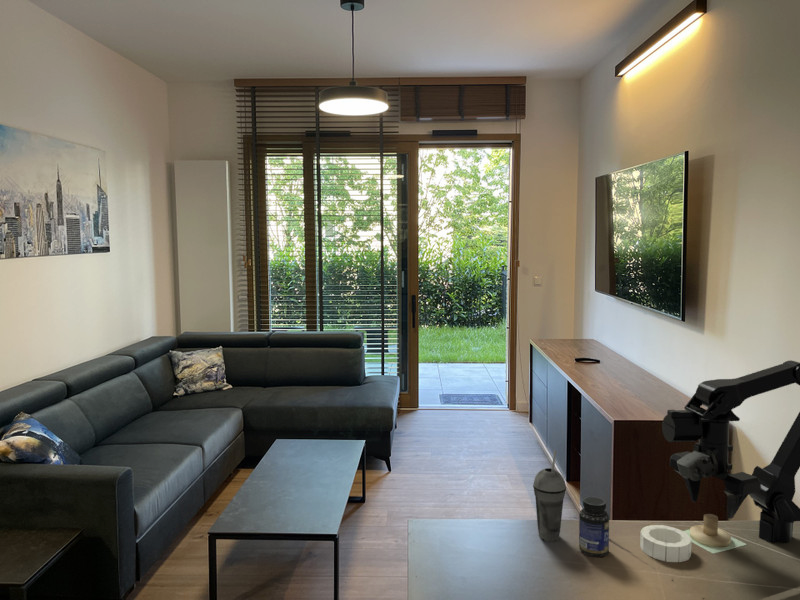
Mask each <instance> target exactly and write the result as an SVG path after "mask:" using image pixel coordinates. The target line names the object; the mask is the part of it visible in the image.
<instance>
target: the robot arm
mask: <svg viewBox="0 0 800 600" xmlns="http://www.w3.org/2000/svg"><path fill="white" fill-rule="evenodd" d="M792 384H796V385H798V386H800V361H796V360H791V359H790V360H787V361H784V362H783V363H781V364H778V365H774V366H771V367H768V368H763V369H762V370H757V371H755V372H752V373H748V374H745V375H743V376H739V377H736V378H719V379H718V378H717V379H710V380H705V381H702V382H700V383H699V384H698V385H697V388H696V390H695V393H694V394H693V395H692V396H691V398H690V399H689V401H688V402H687V403H686V404H685V405H684V410H683V409H678V410H676V409H668V410H667V412H666V415H664V417H663V420H662V422H661V429H662V434H663V438H664V439H665V441H667V442H668V443H676V442H677V443H678V442H680V443H683V442H684V443H685V442H694V445H693V450H692V452H690V451H686V450H685V451H683V452H676V453H673V454H672V455H671V456H670V458H669V467H671V468H674V471H675V472H677V474H679V475H680V476H681V477H682V478H683V480H684V483H685V485H686V488H687V491H688V494H689V497H690V499H691V502H692V503H696V502H698V498H699V493H700V488H701V481H702V478H706V479H708V478H710V477H711V476H712V477H714V478H717V479H719V480H722V481H724V484H723V485H724V486H725V489H723V492H724V493H725V494H726V497H727V505H726V506H727V507H726V511H727V512H726V513H727V514H726V515H727V519H729V520H731V519H733V518H734V517H735V515H736V514H737V512H738V510H739V509H740V507H741V506H742V505H743V503H744V500H745V499H747V497H748V496H749V497H750V498H751V499H752V501H753V504H754V506H756V507H758V508H759V509H761V511H760V513H759V514H760V515H759V516H760V517H759V522H758V538H759V539H761V540H764V541H766V542H767V543H771V544H775V543H779V544H788V543H791V542H792V539H793V532H794V523H795V522H800V507H799V506H798V505H797V504H796V503H795V502H794V501H793V499H794V497H795V493H796V478H795V477H796V475H797V474H798V471H799V470H800V411H799V412H798V414H797V415H796V417H795V420H794V421H793V423H792V424H791V426H790V428H789V430H788V432H787V434H786V435H785V437H784V439H783V441H782V443H781V445H780V446H779V448H778V449H777V451H776V453H775V455H774V457H773V459H772V460H771V462H770V463H769V464H768V465H766V466H764V467H763V468H762V467H761V466H758V465H756V466H755V467H754V469H753V471H752V474H750V473H747V472H743V471H741V472H736V473H731V472H728V471H731V470H733V464H731V463H729V452H733V449H734V447H733V445H731V444H730V443H729V441H730V440H729V439H730V422H739V421H741V418H740V417H739V416H738V415H736V414H735V413H734V411H733V410H734V409H736V408H738V407H740V406H741V405H742V404H743V403H744V401H746V400H747V399H749V398H752V397H755V396H758V395H760V394H764V393H768V392H772V391H774V390H778V389H780V388H783V387H786V386H789V385H792ZM702 406H703V407H702ZM704 407H705V408H706V409H705V408H704ZM696 441H698V442H696Z"/></svg>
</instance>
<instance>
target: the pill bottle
mask: <svg viewBox="0 0 800 600" xmlns="http://www.w3.org/2000/svg"><path fill="white" fill-rule="evenodd" d="M582 506H583V508H581V510H580V511H579V515H578V516H579V517H578V519H579V521H578V522H579V523H578V529H579V530H578V534H579V535H578V547H579V550H580V551H581V552H582V553H583V554H585V555H587V556H590V557H596V558H602V557H604V556H607V555H608V554H609V552H610V550H609V549H610V515H609V513H608V512H607V511H606V509H607V501H606V500H605V499H603V498H601V497H596V496H586V497H584V498H583V500H582Z"/></svg>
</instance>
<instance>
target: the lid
mask: <svg viewBox="0 0 800 600" xmlns="http://www.w3.org/2000/svg"><path fill="white" fill-rule="evenodd" d="M718 526H719V516H717V515H715V514H712V513H705V514H703V524H697V525H692V526H691V527H690V528H689V529H690V537H691V538H692V539H693V540H694V541H696V542H698V543H700V544H703V545H706V546H710V547H718V548H721V547H727V546H729V545H730V544H731V537H732V536H731V534H730V533H729V532H728V531H726V530H724V529H722V528H720V527H718Z"/></svg>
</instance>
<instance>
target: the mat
mask: <svg viewBox="0 0 800 600" xmlns="http://www.w3.org/2000/svg"><path fill="white" fill-rule="evenodd" d="M682 531H683V532H685V533H687V534H688V535H689V537H690V528H689V529H686V530H682ZM690 538H691V537H690ZM691 539H692V538H691ZM692 544H694V545H695V546H697V547H700V548H702V549H703V550H705V551H707V552H709V553H711V554H718V553H721V552H725V551H728V550H732V549H736V548H740V547H743V546H747V545H748V544H746V543H745V542H743V541H741V540H739V539H736V538H735V537H733V536H731V544H730V545H729V546H727V547H721V548H718V547H710V546H706V545H703V544H700V543H698V542H696V541H694V540H693V539H692Z"/></svg>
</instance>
